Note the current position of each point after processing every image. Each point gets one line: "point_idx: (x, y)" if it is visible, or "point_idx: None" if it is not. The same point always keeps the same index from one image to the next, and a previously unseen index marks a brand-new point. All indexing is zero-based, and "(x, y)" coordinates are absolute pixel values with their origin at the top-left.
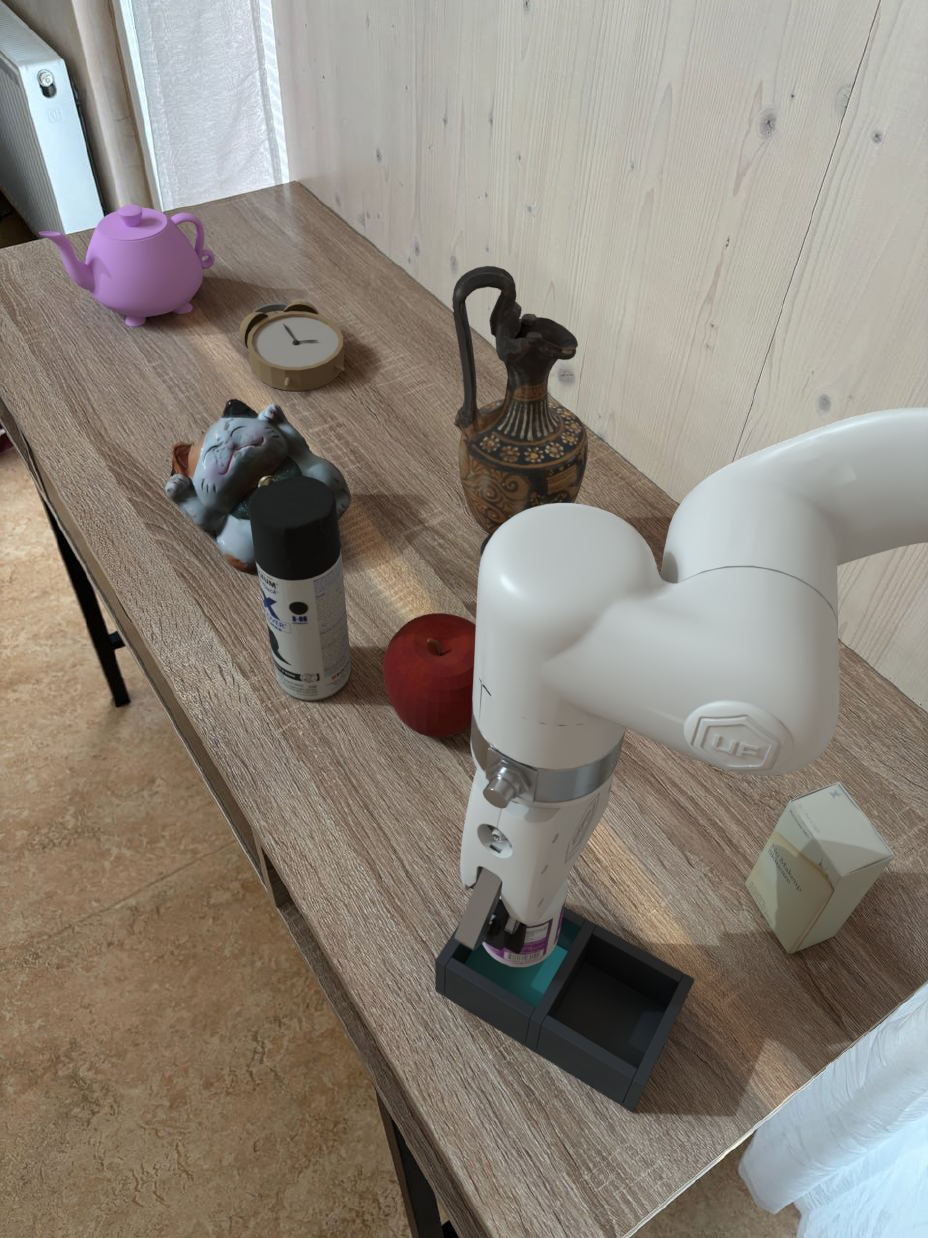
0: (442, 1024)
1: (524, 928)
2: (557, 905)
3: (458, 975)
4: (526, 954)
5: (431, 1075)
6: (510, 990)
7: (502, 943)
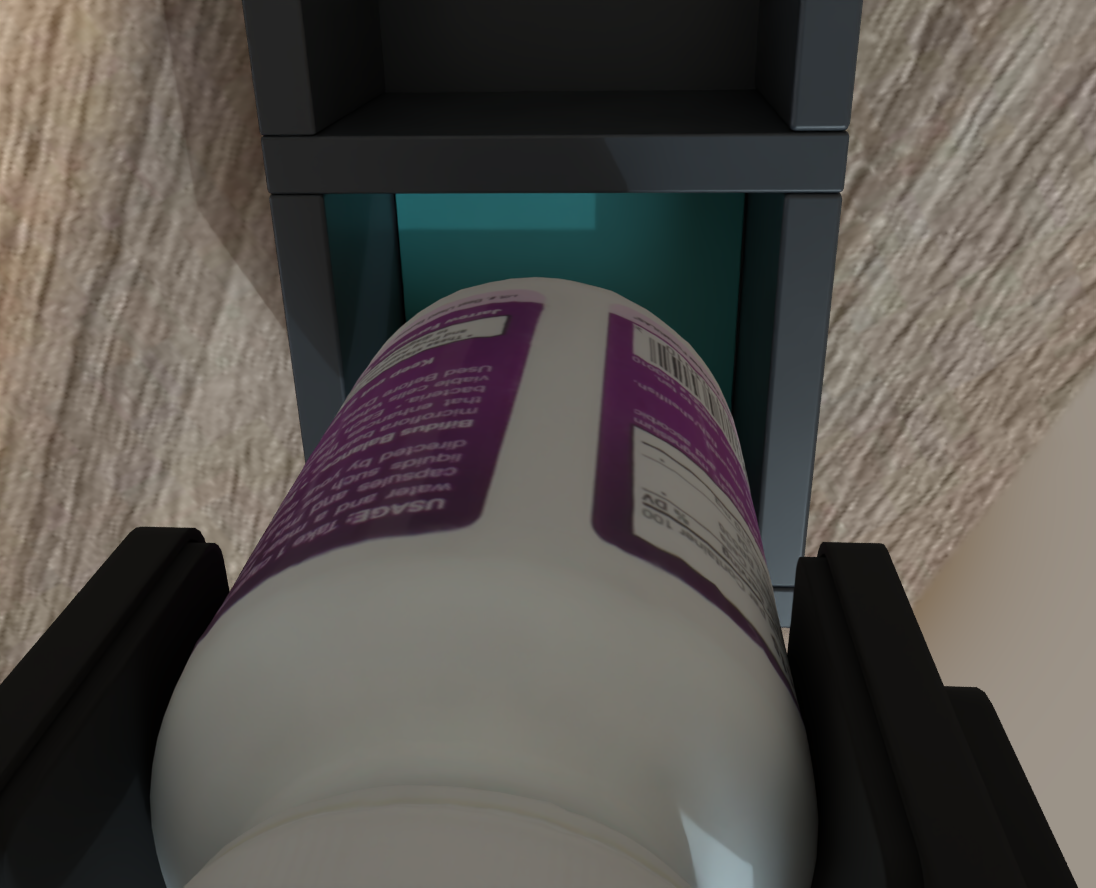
0: (851, 412)
1: (967, 815)
2: (522, 600)
3: (805, 530)
4: (712, 420)
5: (1025, 360)
6: (647, 284)
7: (1017, 768)
